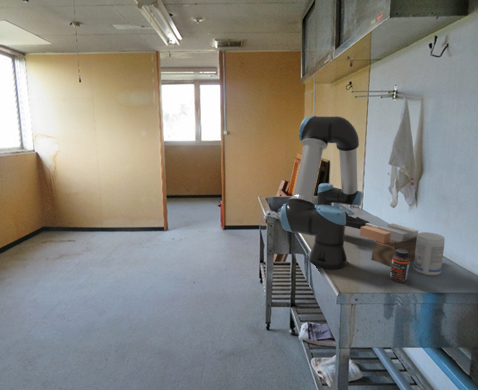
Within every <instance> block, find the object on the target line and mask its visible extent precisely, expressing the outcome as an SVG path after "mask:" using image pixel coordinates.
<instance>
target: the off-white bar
mask: <svg viewBox="0 0 478 390" xmlns="http://www.w3.org/2000/svg"><path fill="white" fill-rule="evenodd" d="M387 227H390V228H394V229H397V230H401V231H405V232H408V233H409V237H408V239H410V238H414V237H417V235H418V233H419V230H418V229H415V228H411V227H408V226H404V225H401V224H400V225H399V224H396V223H389V224H387Z"/></svg>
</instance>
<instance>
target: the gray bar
mask: <svg viewBox="0 0 478 390" xmlns="http://www.w3.org/2000/svg"><path fill="white" fill-rule="evenodd" d="M378 229H380V230H383V231H386V232H390V233H391V235H390V240H393V241H396V242H400V241H403V240H407V239H408V237H409V233H408V232H405V231H401V230H397V229H394V228H390V227H388V225H380V226H379V227H378Z"/></svg>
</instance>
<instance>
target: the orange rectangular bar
mask: <svg viewBox="0 0 478 390" xmlns="http://www.w3.org/2000/svg"><path fill="white" fill-rule="evenodd" d="M359 230H360V231H359V232H360V233H359V236H361V237H363V238H365V239H366V238H367V239H369V240H373V241H378V242H381V243H388V242H390V235H391V233H390V232H386V231H383V230H380V229H376V228H373V227H369V226H363V227H361V229H359Z"/></svg>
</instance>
